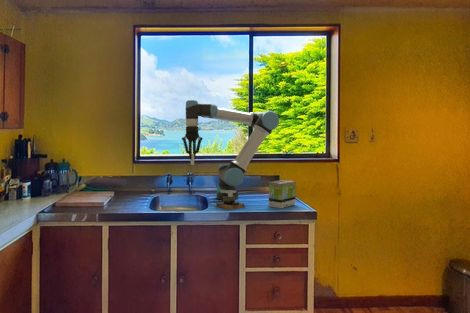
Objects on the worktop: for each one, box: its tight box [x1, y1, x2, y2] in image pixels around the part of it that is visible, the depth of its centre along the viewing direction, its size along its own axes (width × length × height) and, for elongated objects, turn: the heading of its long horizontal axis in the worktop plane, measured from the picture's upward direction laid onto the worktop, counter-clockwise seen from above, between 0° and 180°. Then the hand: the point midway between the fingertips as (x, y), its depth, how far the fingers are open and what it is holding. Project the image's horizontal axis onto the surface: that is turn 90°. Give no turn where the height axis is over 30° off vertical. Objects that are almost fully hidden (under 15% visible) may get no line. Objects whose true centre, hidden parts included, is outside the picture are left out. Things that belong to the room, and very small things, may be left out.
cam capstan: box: [216, 186, 236, 204], centre depth 209 cm, size 12×7×8 cm, turn 57°
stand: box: [215, 200, 246, 211], centre depth 207 cm, size 12×12×4 cm
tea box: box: [268, 179, 297, 209], centre depth 210 cm, size 15×10×15 cm
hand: (192, 164), depth 215 cm, fingers closed
